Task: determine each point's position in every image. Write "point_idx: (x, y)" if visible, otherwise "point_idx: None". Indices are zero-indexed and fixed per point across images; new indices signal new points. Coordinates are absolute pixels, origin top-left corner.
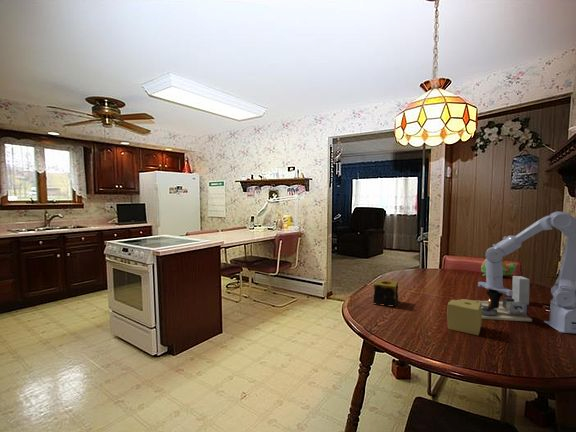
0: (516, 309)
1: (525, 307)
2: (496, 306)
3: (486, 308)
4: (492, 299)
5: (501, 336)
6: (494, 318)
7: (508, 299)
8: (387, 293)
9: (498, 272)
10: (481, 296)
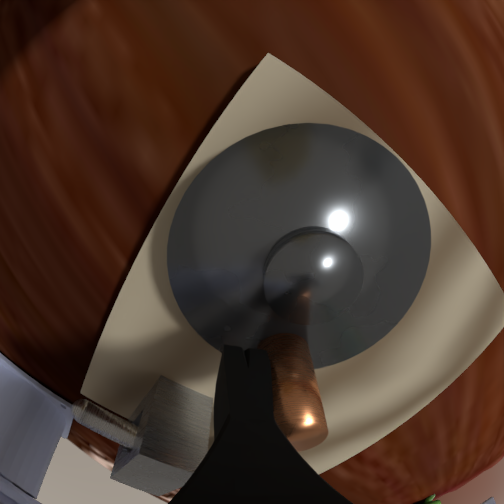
0: (135, 429)
1: (116, 459)
2: (217, 378)
3: (269, 261)
4: (231, 430)
5: (4, 5)
6: (162, 209)
7: None
8: None
9: None
10: (420, 444)
